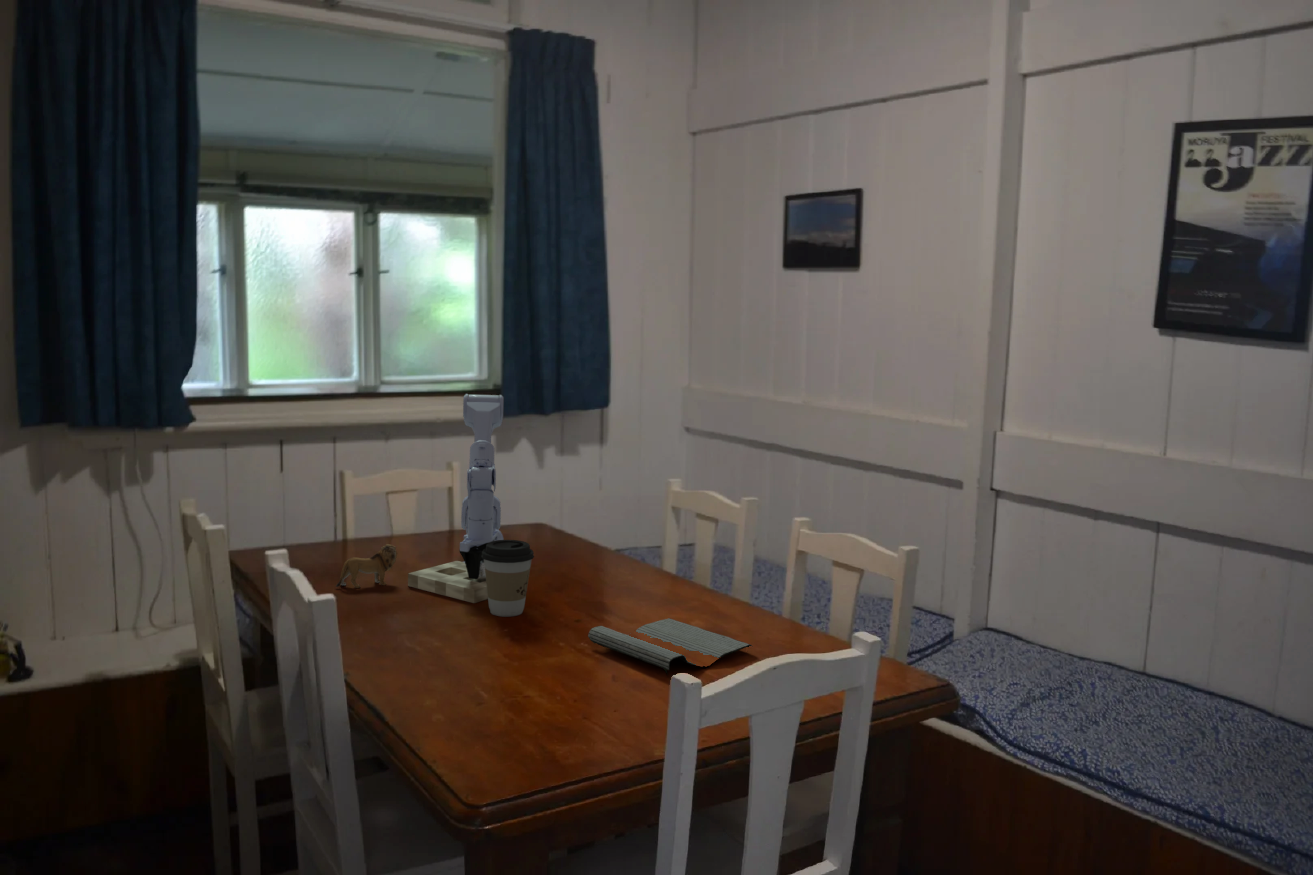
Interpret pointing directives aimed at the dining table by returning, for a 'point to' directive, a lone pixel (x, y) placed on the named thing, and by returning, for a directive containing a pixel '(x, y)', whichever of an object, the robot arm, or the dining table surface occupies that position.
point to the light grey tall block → (481, 573)
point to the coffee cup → (507, 575)
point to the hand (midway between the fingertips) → (479, 575)
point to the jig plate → (449, 582)
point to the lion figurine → (370, 566)
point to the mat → (667, 632)
